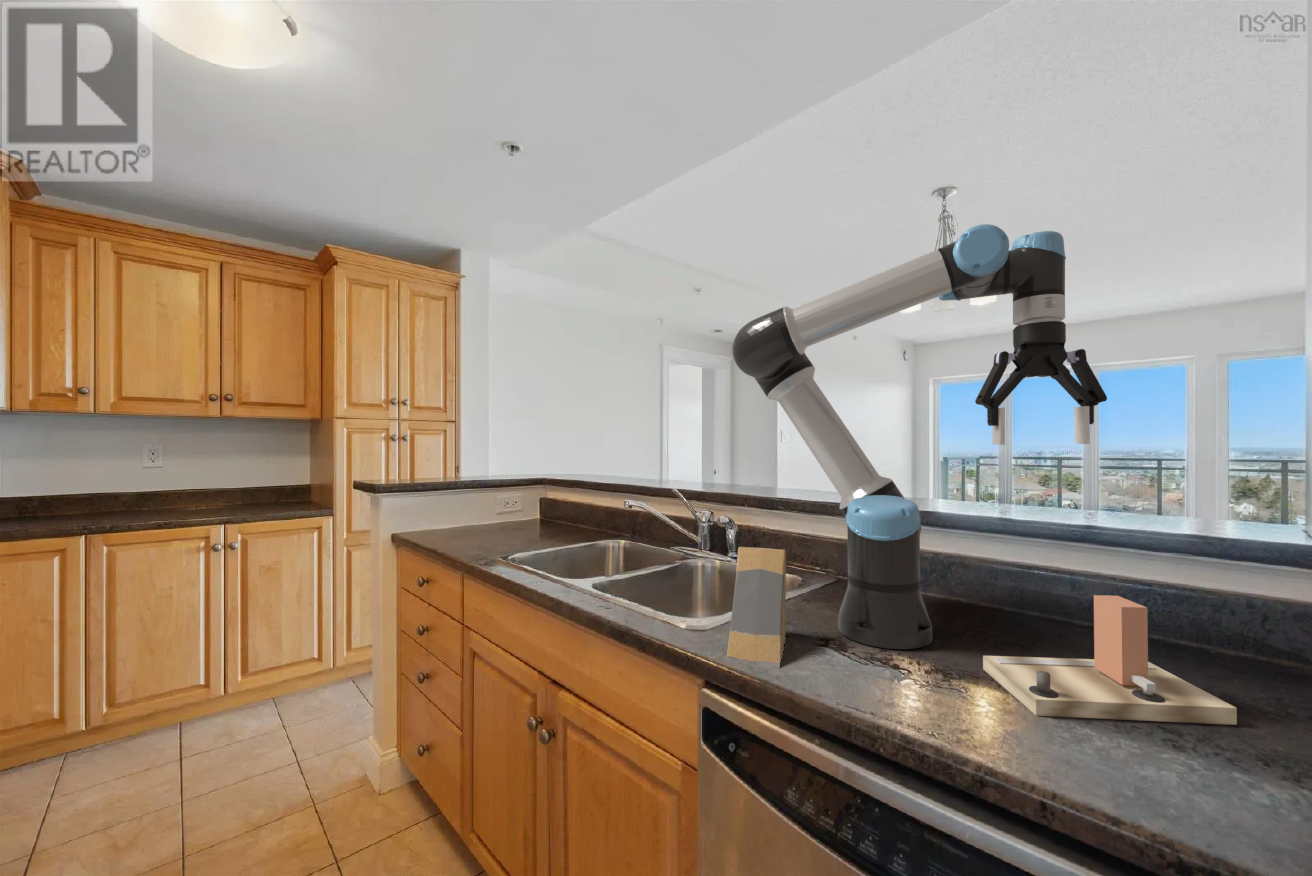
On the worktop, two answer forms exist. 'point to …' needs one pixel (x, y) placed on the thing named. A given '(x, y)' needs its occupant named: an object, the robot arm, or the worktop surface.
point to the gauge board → (1103, 692)
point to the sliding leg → (1122, 641)
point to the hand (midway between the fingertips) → (1040, 444)
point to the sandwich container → (759, 605)
